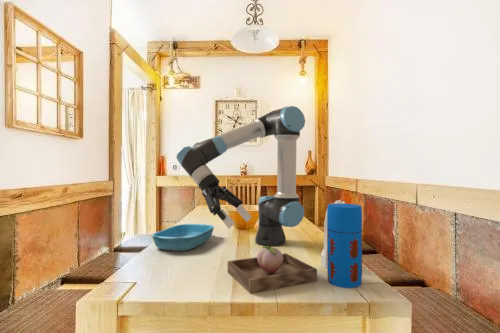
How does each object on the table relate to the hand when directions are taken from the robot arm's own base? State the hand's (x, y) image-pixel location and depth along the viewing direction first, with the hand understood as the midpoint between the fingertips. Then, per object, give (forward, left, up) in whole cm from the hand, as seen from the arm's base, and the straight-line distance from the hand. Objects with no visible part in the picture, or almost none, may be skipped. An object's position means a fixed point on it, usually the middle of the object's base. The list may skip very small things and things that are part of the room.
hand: (240, 222), depth 111 cm
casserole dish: (+10, -49, -18) cm, 53 cm away
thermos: (-27, +23, -18) cm, 40 cm away
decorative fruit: (-7, +9, -17) cm, 20 cm away
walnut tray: (-7, +9, -18) cm, 21 cm away
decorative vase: (-35, +9, -18) cm, 41 cm away
